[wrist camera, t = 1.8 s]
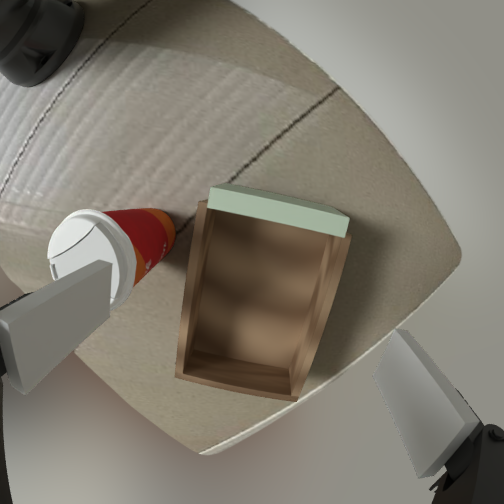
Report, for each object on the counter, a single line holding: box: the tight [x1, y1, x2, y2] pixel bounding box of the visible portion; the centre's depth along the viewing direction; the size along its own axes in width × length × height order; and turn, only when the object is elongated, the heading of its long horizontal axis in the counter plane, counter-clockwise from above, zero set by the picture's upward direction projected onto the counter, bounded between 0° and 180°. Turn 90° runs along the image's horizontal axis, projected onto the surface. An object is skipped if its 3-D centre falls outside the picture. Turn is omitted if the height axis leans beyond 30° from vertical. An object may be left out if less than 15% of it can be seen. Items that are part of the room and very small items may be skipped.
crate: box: [175, 199, 352, 402], centre depth 29 cm, size 18×13×6 cm
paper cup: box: [48, 208, 176, 311], centre depth 24 cm, size 8×8×14 cm
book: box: [207, 183, 350, 238], centre depth 25 cm, size 2×11×8 cm, turn 78°
